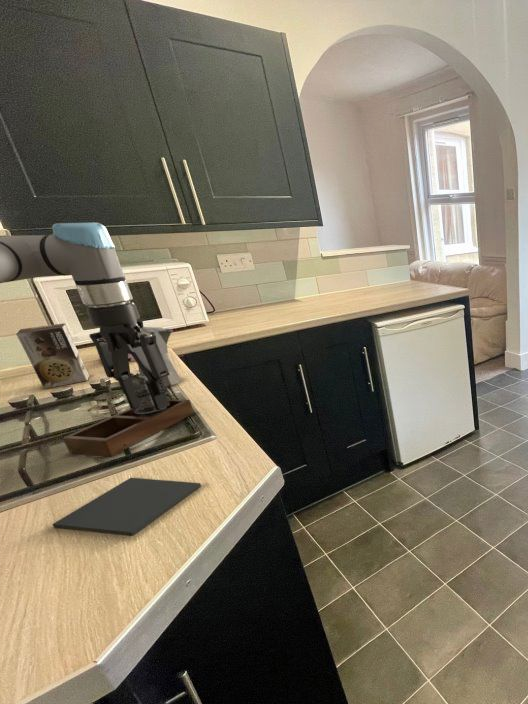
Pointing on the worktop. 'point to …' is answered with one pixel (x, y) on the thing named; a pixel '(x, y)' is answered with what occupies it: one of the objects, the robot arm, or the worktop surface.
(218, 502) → the worktop surface
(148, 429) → the brown shallow rectangular box
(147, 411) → the grey chess piece
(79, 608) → the worktop surface
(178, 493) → the mat
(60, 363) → the cookie mix box
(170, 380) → the coffeepot
